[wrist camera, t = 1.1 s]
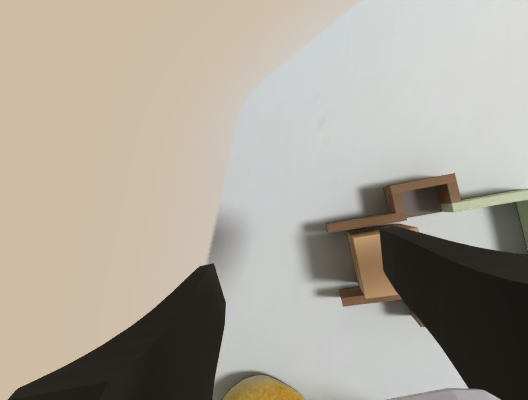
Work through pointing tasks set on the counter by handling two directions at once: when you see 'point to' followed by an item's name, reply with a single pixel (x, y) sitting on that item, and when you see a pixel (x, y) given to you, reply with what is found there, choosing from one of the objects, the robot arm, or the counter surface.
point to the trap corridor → (421, 203)
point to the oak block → (371, 261)
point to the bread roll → (262, 390)
